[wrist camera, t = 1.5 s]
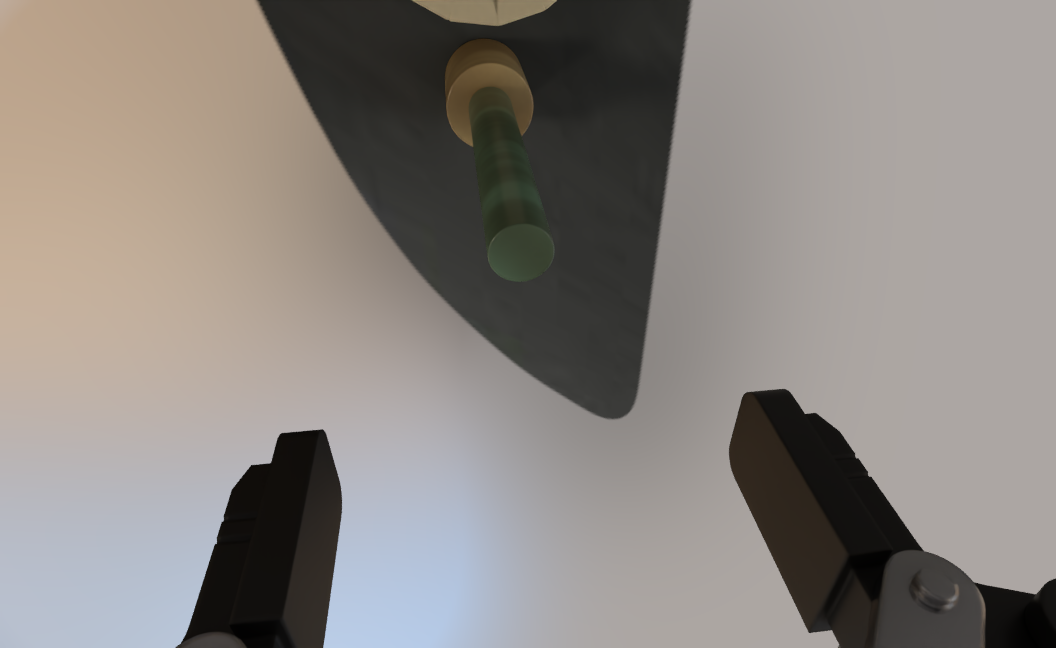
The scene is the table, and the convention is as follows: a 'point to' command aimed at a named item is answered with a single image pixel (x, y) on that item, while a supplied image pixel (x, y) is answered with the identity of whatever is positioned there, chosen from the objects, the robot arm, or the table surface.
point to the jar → (485, 10)
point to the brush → (500, 155)
